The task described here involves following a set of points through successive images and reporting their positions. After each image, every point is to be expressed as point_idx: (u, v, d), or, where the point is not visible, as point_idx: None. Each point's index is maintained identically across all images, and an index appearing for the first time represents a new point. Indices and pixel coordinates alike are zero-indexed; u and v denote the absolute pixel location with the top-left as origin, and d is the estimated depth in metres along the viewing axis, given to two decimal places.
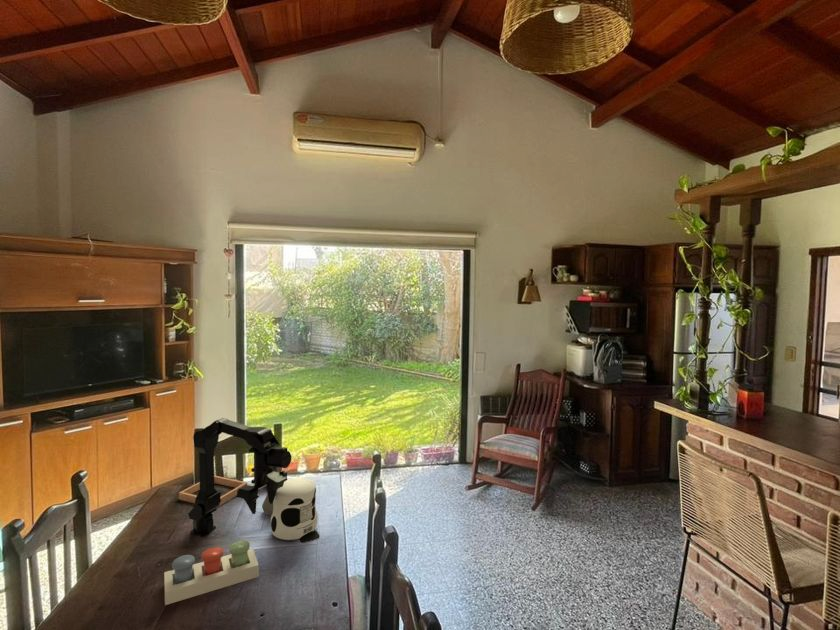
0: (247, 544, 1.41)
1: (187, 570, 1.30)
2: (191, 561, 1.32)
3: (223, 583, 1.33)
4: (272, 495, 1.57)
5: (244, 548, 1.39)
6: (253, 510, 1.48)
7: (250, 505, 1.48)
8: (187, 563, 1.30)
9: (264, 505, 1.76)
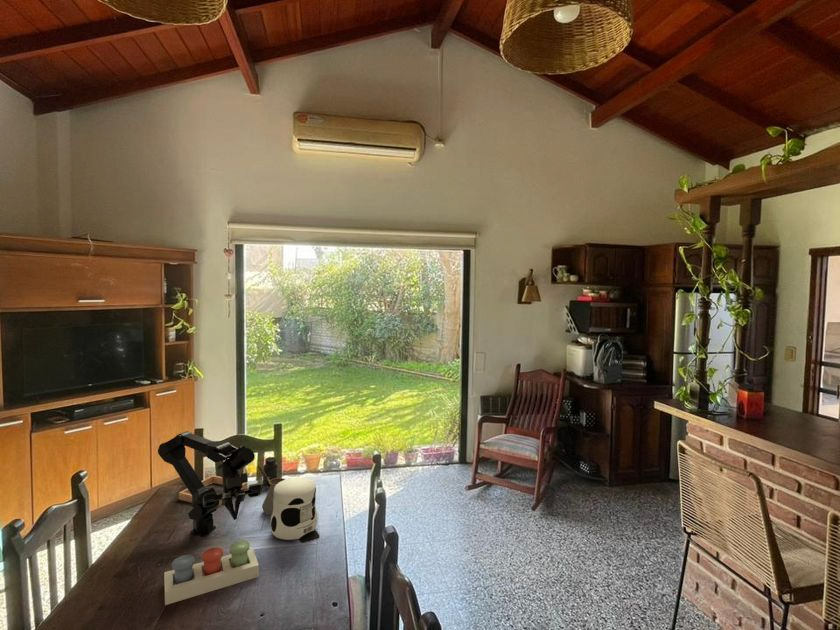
0: (247, 544, 1.41)
1: (187, 570, 1.30)
2: (191, 561, 1.32)
3: (223, 583, 1.33)
4: (235, 509, 1.49)
5: (244, 548, 1.39)
6: (232, 514, 1.47)
7: (230, 511, 1.49)
8: (187, 563, 1.30)
9: (264, 505, 1.76)
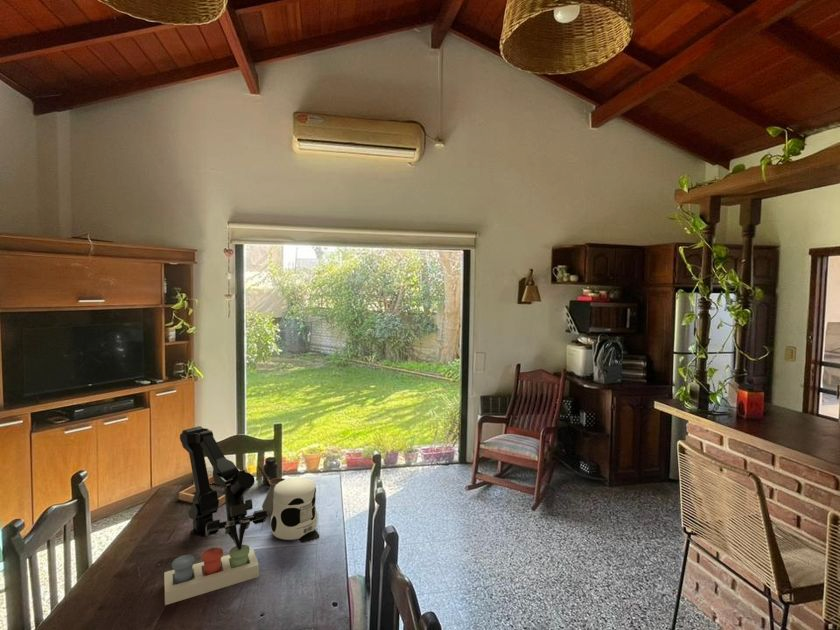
0: (247, 548, 1.41)
1: (187, 570, 1.30)
2: (191, 561, 1.32)
3: (223, 583, 1.33)
4: (239, 538, 1.42)
5: (244, 552, 1.39)
6: (236, 543, 1.40)
7: (234, 540, 1.42)
8: (187, 563, 1.30)
9: (264, 505, 1.76)
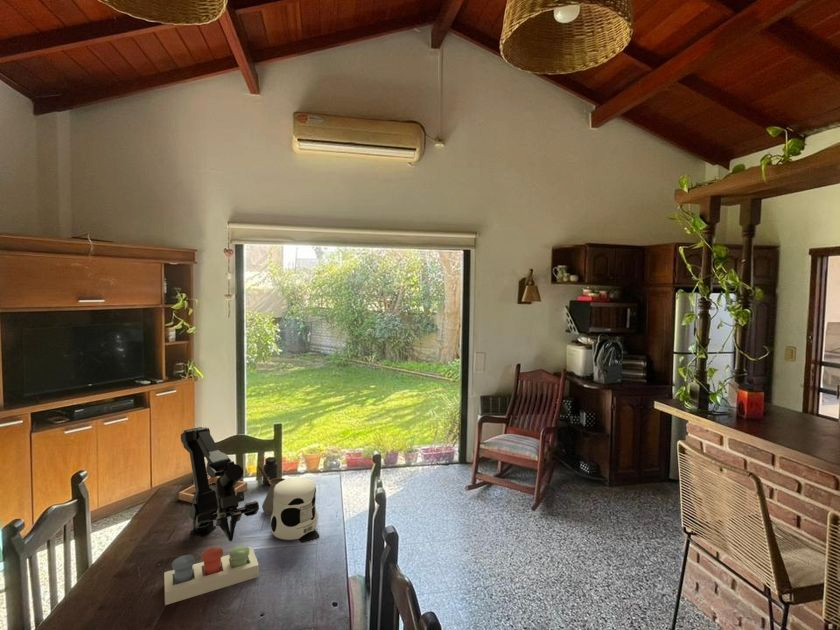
0: (247, 549, 1.41)
1: (187, 570, 1.30)
2: (191, 561, 1.32)
3: (223, 583, 1.33)
4: (230, 530, 1.40)
5: (244, 553, 1.39)
6: (227, 535, 1.39)
7: (225, 532, 1.40)
8: (187, 563, 1.30)
9: (264, 505, 1.76)
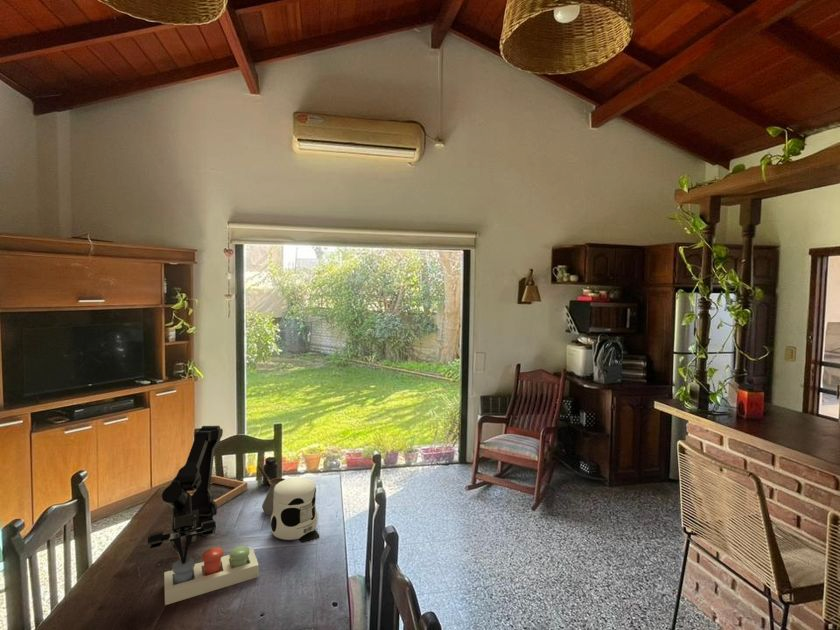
0: (247, 549, 1.41)
1: (187, 573, 1.30)
2: (191, 564, 1.32)
3: (223, 583, 1.33)
4: (184, 551, 1.33)
5: (244, 553, 1.39)
6: (180, 557, 1.32)
7: (178, 553, 1.33)
8: (187, 567, 1.30)
9: (264, 505, 1.76)
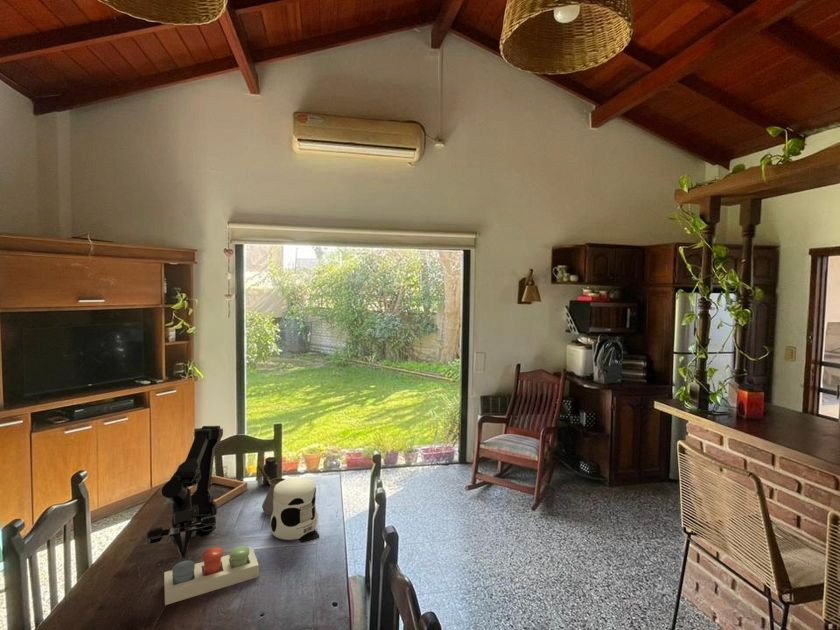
0: (247, 549, 1.41)
1: (187, 576, 1.30)
2: (191, 567, 1.32)
3: (223, 583, 1.33)
4: (184, 546, 1.33)
5: (244, 553, 1.39)
6: (180, 552, 1.32)
7: (178, 548, 1.33)
8: (187, 569, 1.30)
9: (264, 505, 1.76)
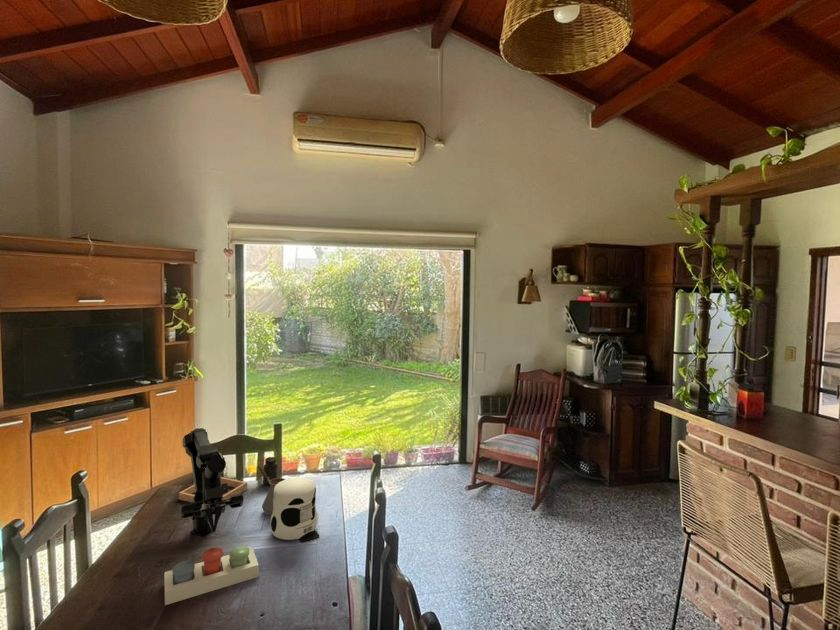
0: (247, 549, 1.41)
1: (187, 576, 1.30)
2: (191, 567, 1.32)
3: (223, 583, 1.33)
4: (214, 521, 1.42)
5: (244, 553, 1.39)
6: (211, 526, 1.41)
7: (209, 523, 1.42)
8: (187, 569, 1.30)
9: (264, 505, 1.76)
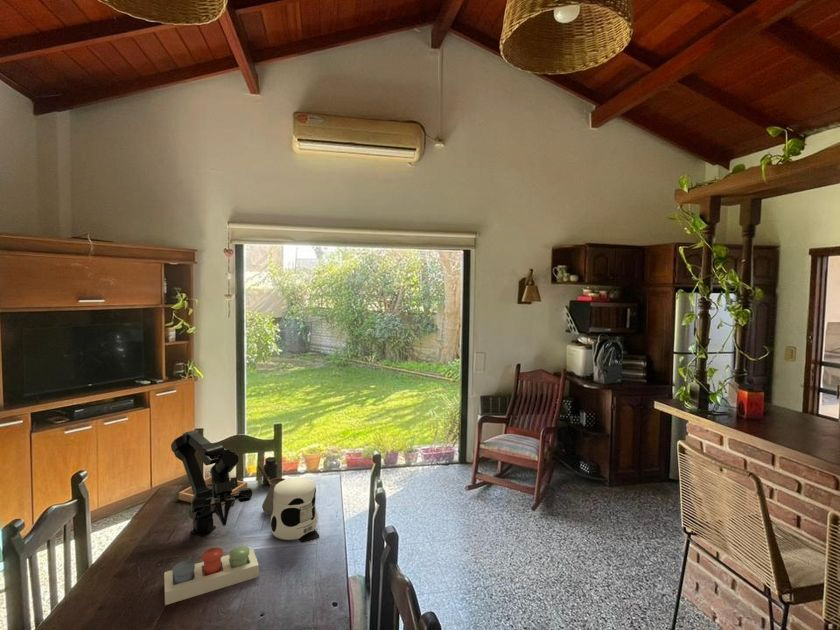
0: (247, 549, 1.41)
1: (187, 576, 1.30)
2: (191, 567, 1.32)
3: (223, 583, 1.33)
4: (224, 515, 1.45)
5: (244, 553, 1.39)
6: (221, 520, 1.44)
7: (219, 516, 1.45)
8: (187, 569, 1.30)
9: (264, 505, 1.76)
